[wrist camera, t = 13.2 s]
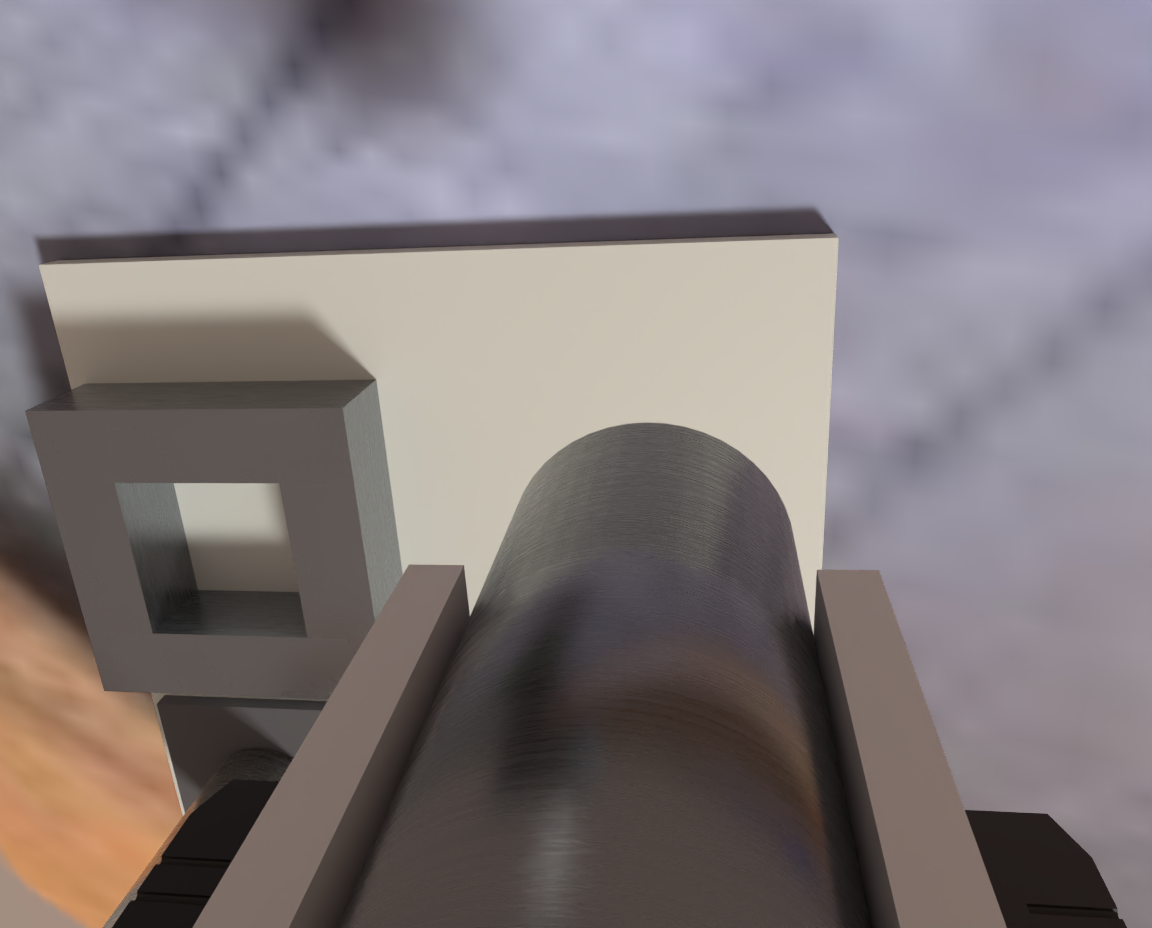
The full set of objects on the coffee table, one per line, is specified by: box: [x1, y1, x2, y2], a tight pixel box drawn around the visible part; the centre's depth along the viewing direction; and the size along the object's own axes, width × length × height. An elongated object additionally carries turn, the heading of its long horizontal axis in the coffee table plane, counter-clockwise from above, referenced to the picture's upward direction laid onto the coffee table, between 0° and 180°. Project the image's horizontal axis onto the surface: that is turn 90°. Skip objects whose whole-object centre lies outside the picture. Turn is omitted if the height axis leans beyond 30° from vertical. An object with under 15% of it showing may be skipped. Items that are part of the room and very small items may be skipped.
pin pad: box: [157, 695, 327, 813], centre depth 32 cm, size 7×7×1 cm
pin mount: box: [25, 380, 403, 699], centre depth 27 cm, size 9×9×3 cm
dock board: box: [39, 233, 839, 816], centre depth 29 cm, size 24×22×1 cm
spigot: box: [337, 422, 872, 928], centre depth 9 cm, size 5×5×12 cm
